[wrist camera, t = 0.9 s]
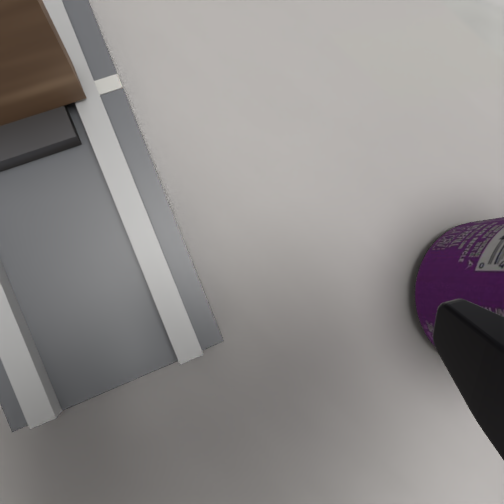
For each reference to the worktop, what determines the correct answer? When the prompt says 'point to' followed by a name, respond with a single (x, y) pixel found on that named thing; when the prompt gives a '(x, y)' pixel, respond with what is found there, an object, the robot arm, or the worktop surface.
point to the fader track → (91, 254)
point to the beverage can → (462, 270)
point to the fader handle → (34, 85)
